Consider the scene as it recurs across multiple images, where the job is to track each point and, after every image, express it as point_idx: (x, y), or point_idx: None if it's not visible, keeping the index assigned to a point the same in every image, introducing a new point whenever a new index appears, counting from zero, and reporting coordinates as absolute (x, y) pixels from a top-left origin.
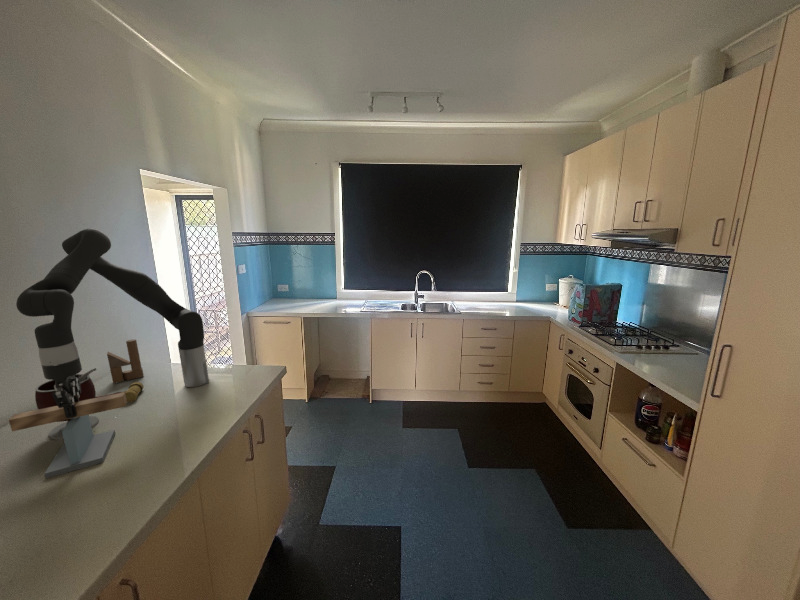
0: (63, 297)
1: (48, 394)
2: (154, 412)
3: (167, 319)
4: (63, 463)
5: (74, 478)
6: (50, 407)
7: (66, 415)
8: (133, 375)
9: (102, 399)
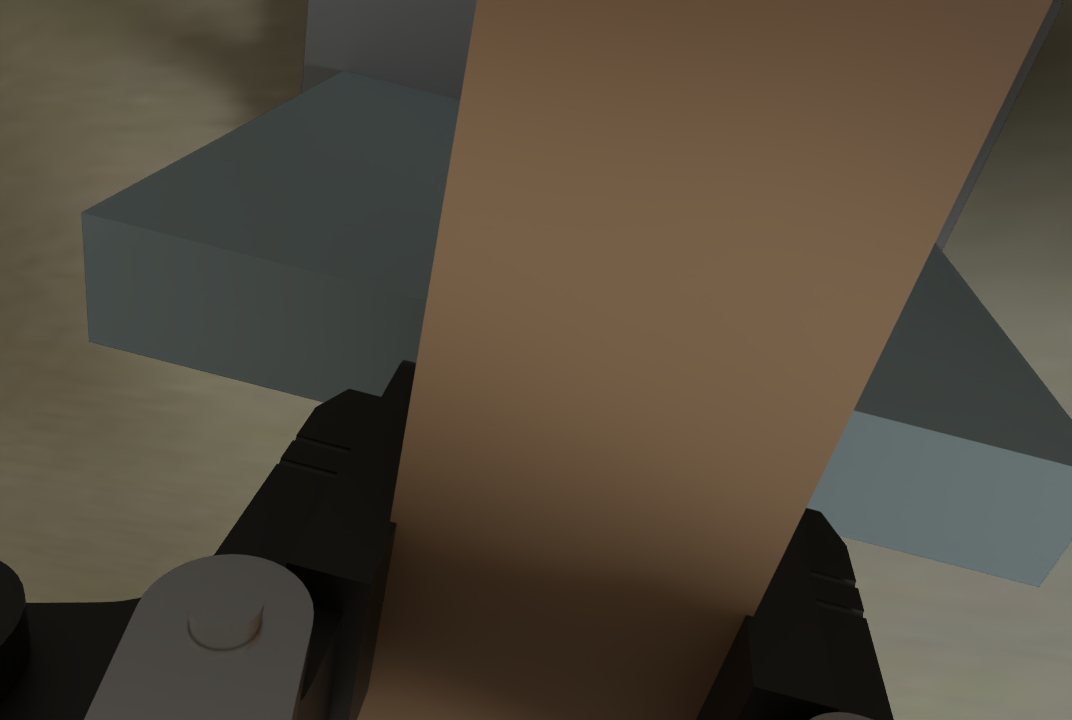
0: None
1: None
2: (983, 715)
3: None
4: (425, 5)
5: (168, 81)
6: (911, 197)
7: (311, 417)
8: None
9: None
